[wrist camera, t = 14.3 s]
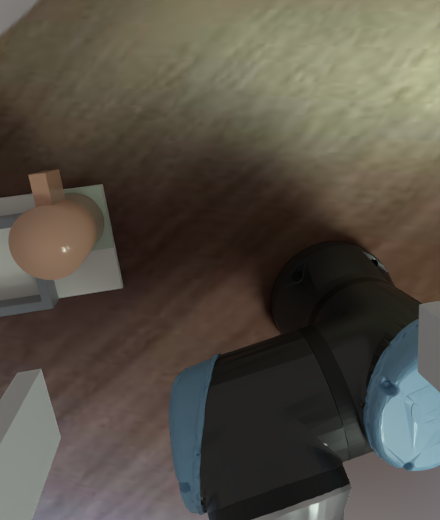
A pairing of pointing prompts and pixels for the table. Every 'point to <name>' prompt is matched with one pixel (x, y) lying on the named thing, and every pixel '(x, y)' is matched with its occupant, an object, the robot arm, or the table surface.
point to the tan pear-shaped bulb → (55, 229)
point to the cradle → (29, 303)
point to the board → (78, 283)
